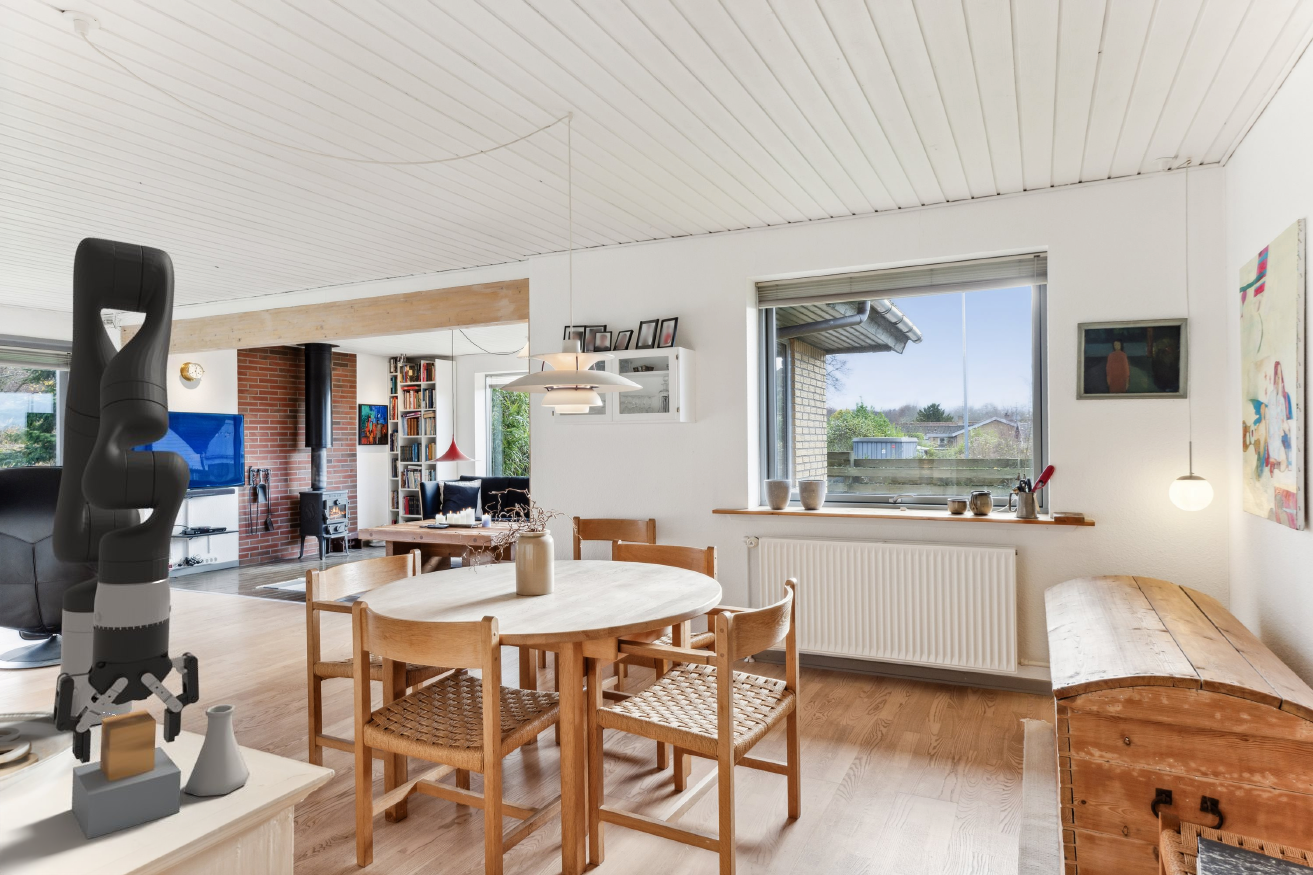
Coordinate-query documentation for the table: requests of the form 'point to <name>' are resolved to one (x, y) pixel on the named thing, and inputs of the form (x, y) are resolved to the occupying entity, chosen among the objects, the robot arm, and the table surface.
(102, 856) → the table surface
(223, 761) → the flask
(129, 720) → the orange block
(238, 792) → the table surface
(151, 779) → the pedestal
